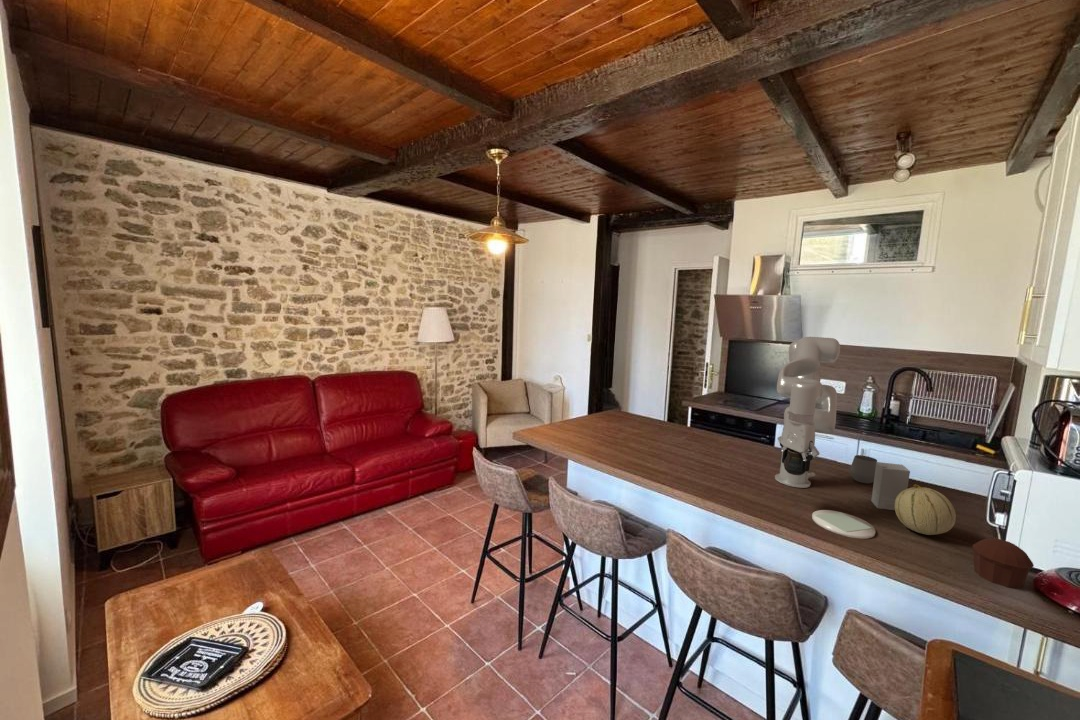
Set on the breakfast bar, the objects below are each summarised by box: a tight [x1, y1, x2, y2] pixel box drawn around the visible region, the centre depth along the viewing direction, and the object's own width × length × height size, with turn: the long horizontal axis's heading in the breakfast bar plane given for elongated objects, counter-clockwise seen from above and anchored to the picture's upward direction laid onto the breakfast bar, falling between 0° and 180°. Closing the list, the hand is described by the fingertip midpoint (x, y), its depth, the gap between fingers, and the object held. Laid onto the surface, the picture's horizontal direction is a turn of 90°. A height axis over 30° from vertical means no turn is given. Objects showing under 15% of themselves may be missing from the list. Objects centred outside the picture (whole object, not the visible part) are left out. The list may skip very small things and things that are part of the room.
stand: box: [811, 509, 876, 540], centre depth 143 cm, size 17×17×1 cm
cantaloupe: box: [894, 484, 957, 536], centre depth 140 cm, size 15×15×15 cm
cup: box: [849, 454, 878, 484], centre depth 182 cm, size 10×9×10 cm
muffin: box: [972, 537, 1035, 589], centre depth 116 cm, size 12×11×10 cm
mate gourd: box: [784, 449, 806, 475], centre depth 153 cm, size 7×8×10 cm
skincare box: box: [870, 461, 911, 511], centre depth 157 cm, size 8×7×16 cm
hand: (795, 466), depth 153 cm, fingers closed on mate gourd, 7 cm apart
